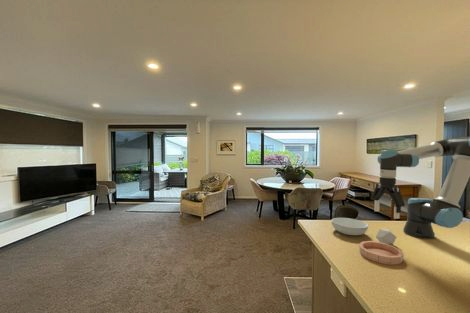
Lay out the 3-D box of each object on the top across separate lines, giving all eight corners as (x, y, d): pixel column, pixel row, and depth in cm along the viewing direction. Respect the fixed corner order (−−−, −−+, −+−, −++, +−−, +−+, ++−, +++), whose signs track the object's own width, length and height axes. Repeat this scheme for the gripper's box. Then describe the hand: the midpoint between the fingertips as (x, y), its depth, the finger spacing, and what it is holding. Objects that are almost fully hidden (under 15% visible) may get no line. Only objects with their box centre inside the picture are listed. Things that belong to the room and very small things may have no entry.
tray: (381, 246, 119) (382, 240, 119) (412, 263, 101) (412, 256, 101) (351, 248, 117) (351, 241, 117) (377, 265, 99) (377, 258, 99)
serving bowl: (368, 231, 142) (368, 220, 142) (367, 242, 125) (367, 230, 124) (333, 225, 153) (333, 215, 153) (328, 234, 136) (328, 223, 136)
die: (396, 250, 116) (401, 233, 119) (380, 240, 118) (386, 224, 120) (385, 249, 124) (391, 233, 127) (370, 240, 126) (376, 225, 129)
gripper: (365, 174, 133) (364, 208, 134) (401, 180, 109) (399, 222, 109) (376, 174, 134) (375, 208, 135) (414, 180, 110) (412, 221, 110)
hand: (386, 214), depth 122 cm, fingers open, 13 cm apart
